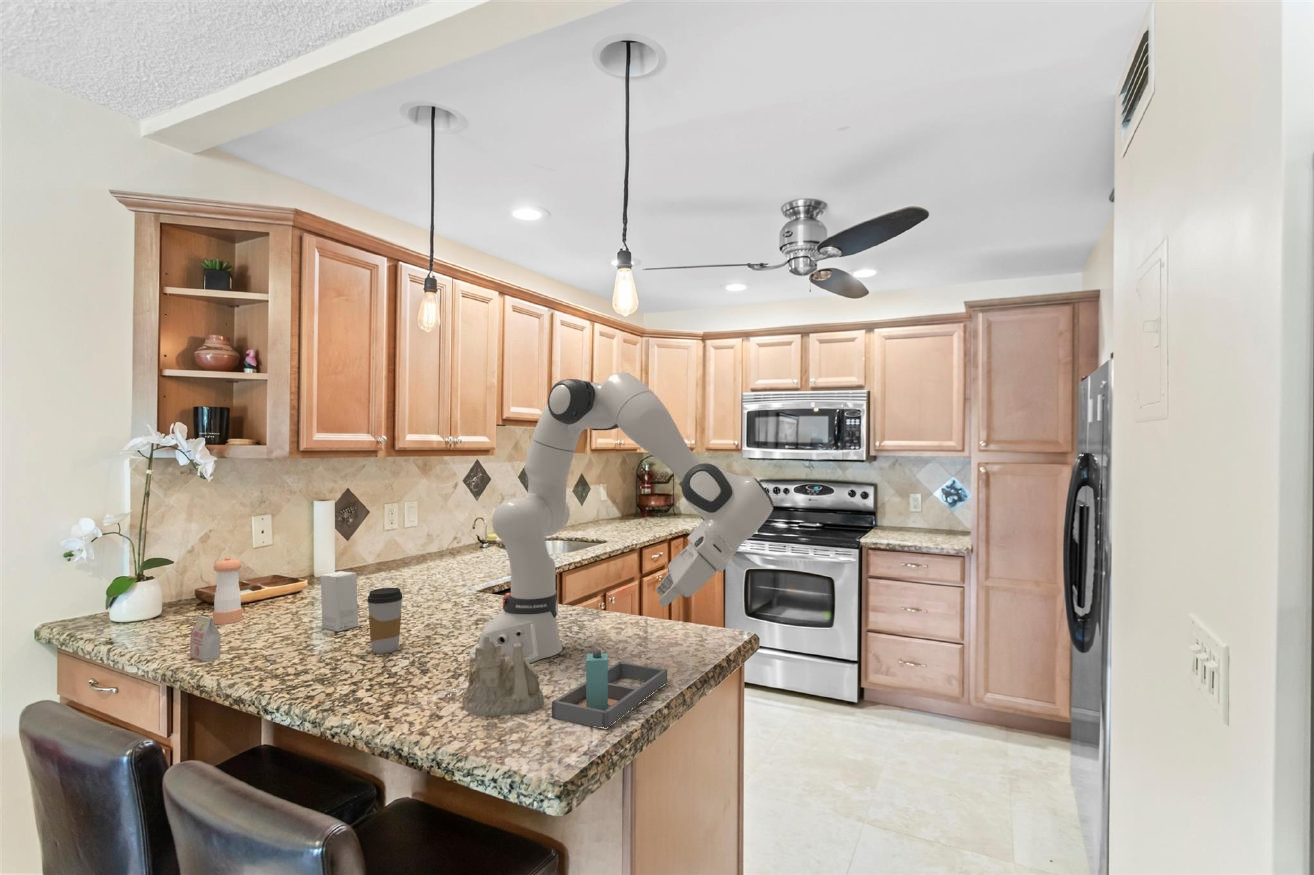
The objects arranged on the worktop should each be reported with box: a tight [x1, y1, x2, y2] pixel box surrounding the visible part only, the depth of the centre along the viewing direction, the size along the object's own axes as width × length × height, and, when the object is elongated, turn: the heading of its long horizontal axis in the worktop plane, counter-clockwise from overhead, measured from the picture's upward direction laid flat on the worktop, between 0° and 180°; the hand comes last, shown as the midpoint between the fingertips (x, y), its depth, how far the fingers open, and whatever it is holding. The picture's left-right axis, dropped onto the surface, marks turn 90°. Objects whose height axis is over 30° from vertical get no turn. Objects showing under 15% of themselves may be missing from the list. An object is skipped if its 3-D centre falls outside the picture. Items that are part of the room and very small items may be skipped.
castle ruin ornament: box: [461, 635, 545, 717], centre depth 130 cm, size 16×16×15 cm
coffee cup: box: [366, 587, 403, 655], centre depth 162 cm, size 8×8×15 cm
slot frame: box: [551, 661, 668, 728], centre depth 129 cm, size 25×12×3 cm, turn 153°
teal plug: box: [585, 648, 609, 711], centre depth 123 cm, size 4×4×11 cm
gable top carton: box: [189, 615, 221, 663], centre depth 157 cm, size 4×7×10 cm, turn 58°
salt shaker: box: [212, 556, 243, 625], centre depth 191 cm, size 7×7×19 cm
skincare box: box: [320, 570, 359, 632], centre depth 183 cm, size 8×7×16 cm
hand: (659, 598), depth 125 cm, fingers open, 8 cm apart
